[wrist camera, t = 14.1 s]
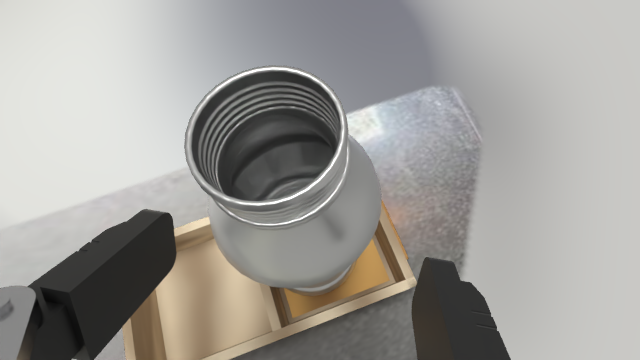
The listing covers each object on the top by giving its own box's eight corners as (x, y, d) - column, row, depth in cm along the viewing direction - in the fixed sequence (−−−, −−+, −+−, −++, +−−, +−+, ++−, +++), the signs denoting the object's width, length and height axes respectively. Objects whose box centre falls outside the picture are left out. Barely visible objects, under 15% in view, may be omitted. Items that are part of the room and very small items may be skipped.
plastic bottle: (259, 243, 26) (72, 105, 8) (327, 199, 27) (312, -19, 9) (301, 314, 24) (189, 365, 5) (373, 263, 25) (482, 159, 7)
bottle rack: (170, 379, 24) (130, 398, 20) (150, 258, 28) (112, 250, 23) (406, 286, 26) (422, 283, 21) (361, 183, 29) (366, 160, 25)
